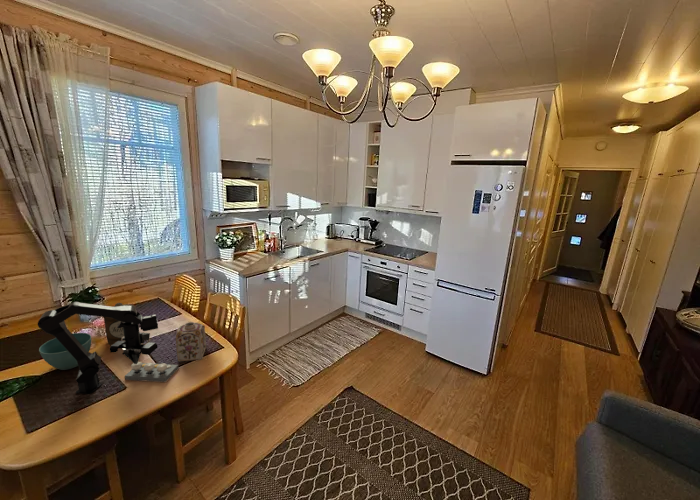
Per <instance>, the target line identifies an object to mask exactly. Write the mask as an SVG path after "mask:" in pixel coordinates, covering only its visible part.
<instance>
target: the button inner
mask: <svg viewBox="0 0 700 500" xmlns="http://www.w3.org/2000/svg"><path fill="white" fill-rule="evenodd" d="M142 363H143V362H141V361H138V363H137V364H134V363H133V362H132V363H131V365H130V367H131V370H135V372H139V371H140V369H141V368H142Z"/></svg>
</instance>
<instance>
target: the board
mask: <svg viewBox="0 0 700 500" xmlns="http://www.w3.org/2000/svg"><path fill="white" fill-rule="evenodd" d="M141 363H142V368H141V369H140V371H139V372H135V370H132V369H131V370H130V371H128V372H127V373H126V374H125V375H124V380H127V381H142V382H144V381H145V382H158V383H159V382H160V383H166V382H168V381H169V379H170V378H171V377H172V376H173V375H174V374H175V373H176V372H177V371H178V370H179V364H169V363H166V364H167V369H166V370H165V372H164V373H163V374H160V372H157V366H158V365H159V364H160V363H154V366H155V368H154V369H153V370H152V372H151V373H148V371H145V370H144V365H145V364H147V363H148V362H141Z"/></svg>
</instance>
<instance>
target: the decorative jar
mask: <svg viewBox="0 0 700 500" xmlns="http://www.w3.org/2000/svg"><path fill="white" fill-rule="evenodd" d="M206 341H207V338H206V328H205V325H203V324H202V323H199V322H193V321H190V322H189V321H188V322H186V323H184V324H183V325H180V326H179V327H178V328H177V330H176V334H175V348H176V356H177V362H179V363H180V362H189V361H197V360H203V357H204V354H205V351H206V349H207V342H206Z"/></svg>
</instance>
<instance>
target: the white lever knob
mask: <svg viewBox="0 0 700 500" xmlns="http://www.w3.org/2000/svg"><path fill="white" fill-rule="evenodd" d="M158 364H159V365H158V366H157V372H160V374H163V373H164V372H165V370H166V369H167V364H168V363H165V362H163V363H158Z"/></svg>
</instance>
